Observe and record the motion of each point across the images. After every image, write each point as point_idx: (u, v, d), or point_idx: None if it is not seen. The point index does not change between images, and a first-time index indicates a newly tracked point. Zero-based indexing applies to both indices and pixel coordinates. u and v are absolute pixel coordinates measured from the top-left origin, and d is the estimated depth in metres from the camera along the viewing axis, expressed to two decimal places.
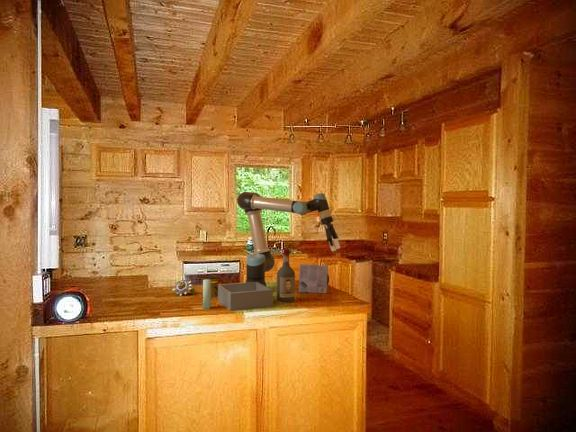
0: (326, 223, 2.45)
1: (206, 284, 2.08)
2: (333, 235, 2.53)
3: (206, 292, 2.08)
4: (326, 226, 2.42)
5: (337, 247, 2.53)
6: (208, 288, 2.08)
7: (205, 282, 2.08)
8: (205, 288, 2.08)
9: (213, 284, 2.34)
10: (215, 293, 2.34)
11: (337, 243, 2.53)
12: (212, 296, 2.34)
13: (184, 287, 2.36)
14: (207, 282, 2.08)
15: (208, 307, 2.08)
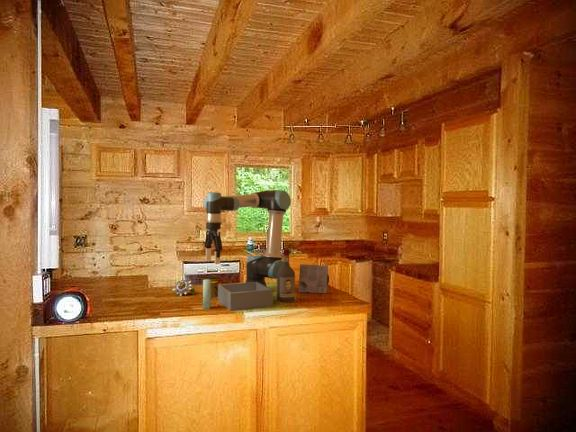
0: None
1: (206, 284, 2.08)
2: None
3: (206, 292, 2.08)
4: None
5: None
6: (208, 288, 2.08)
7: (205, 282, 2.08)
8: (205, 288, 2.08)
9: (213, 284, 2.34)
10: (215, 293, 2.34)
11: None
12: (212, 296, 2.34)
13: (184, 287, 2.36)
14: (207, 282, 2.08)
15: (208, 307, 2.08)
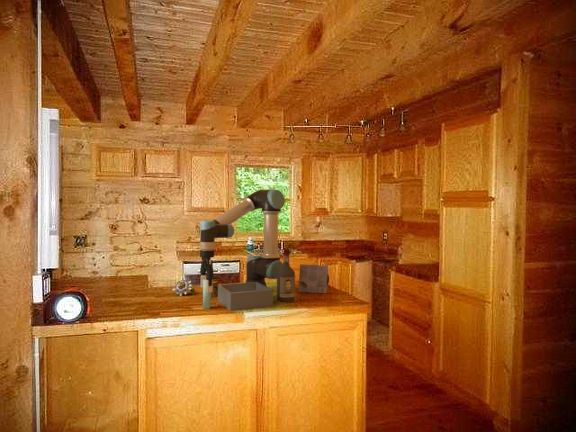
0: None
1: (206, 284, 2.08)
2: None
3: (206, 292, 2.08)
4: None
5: None
6: None
7: (205, 282, 2.08)
8: (205, 288, 2.08)
9: (213, 284, 2.34)
10: (215, 293, 2.34)
11: None
12: (212, 296, 2.34)
13: (184, 287, 2.36)
14: None
15: (208, 307, 2.08)
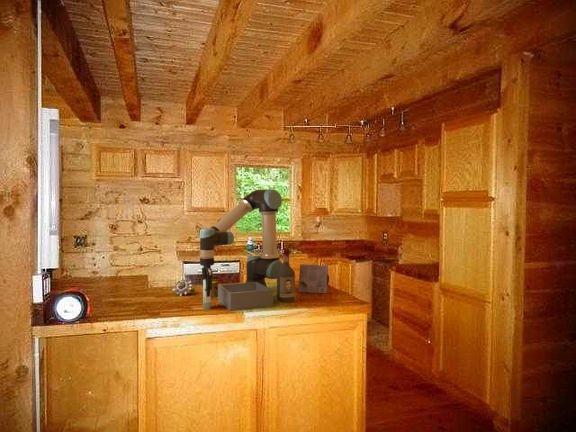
0: None
1: None
2: None
3: None
4: None
5: None
6: None
7: (205, 282, 2.08)
8: (205, 288, 2.08)
9: (213, 284, 2.34)
10: (215, 293, 2.34)
11: None
12: (212, 296, 2.34)
13: (184, 287, 2.36)
14: None
15: (208, 307, 2.08)
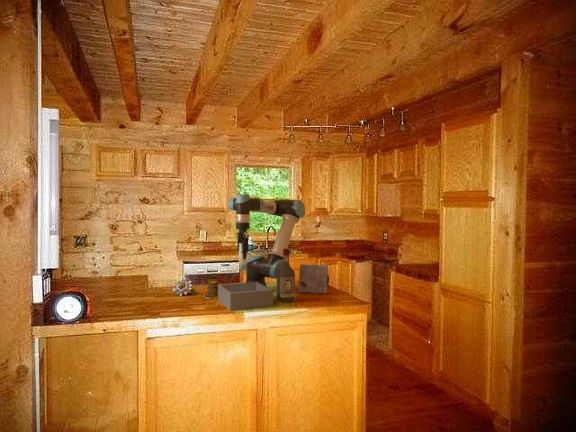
0: None
1: None
2: None
3: None
4: None
5: None
6: None
7: (241, 245, 2.18)
8: (241, 251, 2.18)
9: (213, 284, 2.34)
10: (215, 293, 2.34)
11: None
12: (212, 296, 2.34)
13: (184, 287, 2.36)
14: None
15: (244, 269, 2.19)
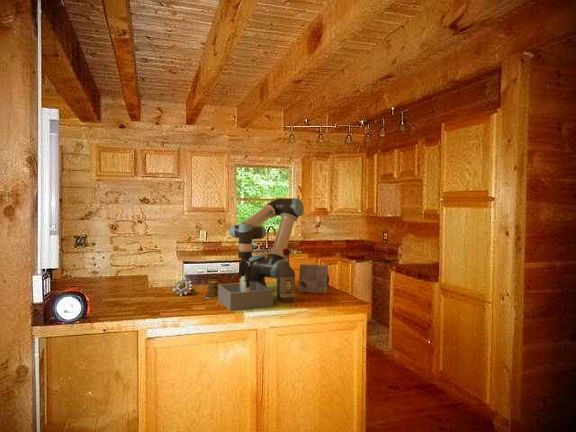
0: None
1: (244, 280, 2.19)
2: None
3: None
4: None
5: None
6: None
7: (243, 279, 2.19)
8: (243, 284, 2.19)
9: (213, 284, 2.34)
10: (215, 293, 2.34)
11: None
12: (212, 296, 2.34)
13: (184, 287, 2.36)
14: (245, 279, 2.19)
15: None
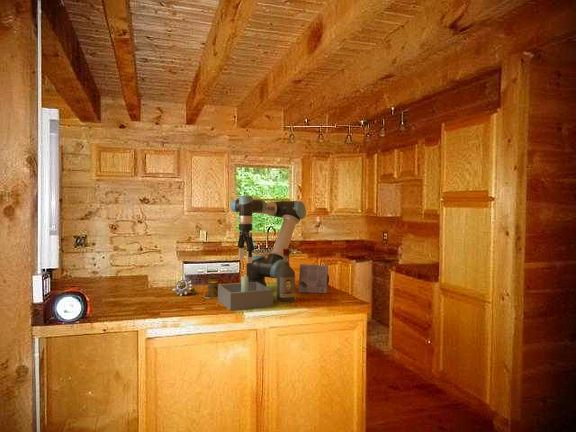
0: None
1: (244, 280, 2.19)
2: None
3: (245, 288, 2.19)
4: None
5: None
6: (246, 284, 2.19)
7: (243, 278, 2.19)
8: (243, 284, 2.19)
9: (213, 284, 2.34)
10: (215, 293, 2.34)
11: None
12: (212, 296, 2.34)
13: (184, 287, 2.36)
14: (245, 278, 2.19)
15: None
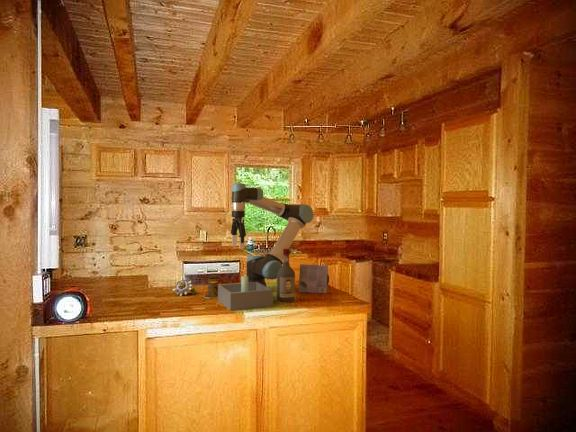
0: None
1: (244, 280, 2.19)
2: None
3: (245, 288, 2.19)
4: None
5: None
6: (246, 284, 2.19)
7: (243, 278, 2.19)
8: (243, 284, 2.19)
9: (213, 284, 2.34)
10: (215, 293, 2.34)
11: None
12: (212, 296, 2.34)
13: (184, 287, 2.36)
14: (245, 278, 2.19)
15: None
